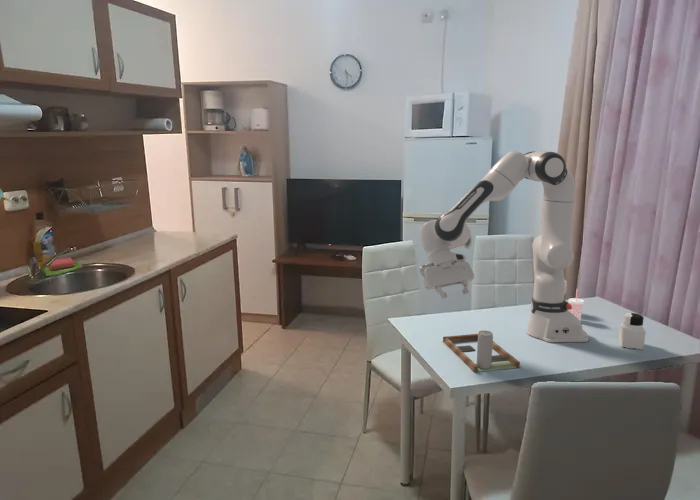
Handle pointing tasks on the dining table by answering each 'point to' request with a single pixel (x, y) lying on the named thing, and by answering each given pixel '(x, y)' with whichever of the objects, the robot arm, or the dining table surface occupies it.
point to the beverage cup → (576, 306)
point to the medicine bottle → (632, 331)
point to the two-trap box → (497, 360)
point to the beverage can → (484, 349)
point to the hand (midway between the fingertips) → (455, 295)
